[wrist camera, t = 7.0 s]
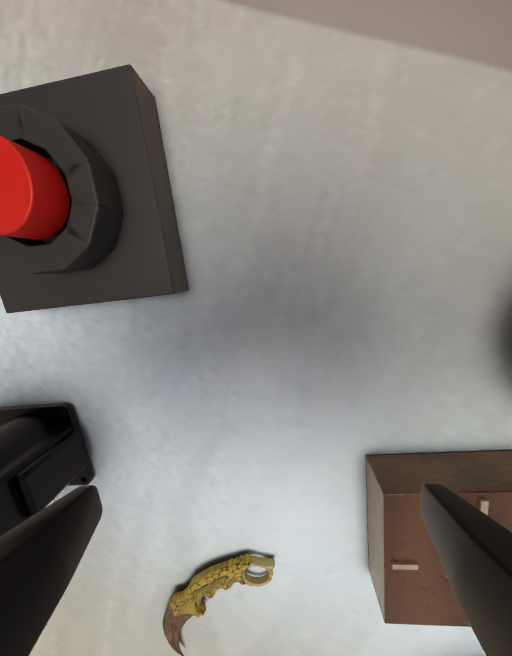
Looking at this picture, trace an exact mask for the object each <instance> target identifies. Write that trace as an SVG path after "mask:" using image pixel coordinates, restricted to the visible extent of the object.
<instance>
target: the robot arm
mask: <svg viewBox="0 0 512 656" xmlns="http://www.w3.org/2000/svg"><path fill="white" fill-rule="evenodd" d="M93 478H94V474H93V471H92V467H91V464H90V461H89V458H88V454H87V451H86V448H85V445H84V441H83V438H82V435H81V432H80V429H79V425H78V422H77V419H76V416H75V412H74V409H73V407H72V406H71V405H70V404H67V403H61V404H46V405H31V406H16V407H1V408H0V656H29V654H30V652H31V651H32V649H33V647H34V645H35V644H36V642H37V640H38V638H39V636H40V635H41V633H42V631H43V629H44V628H45V626H46V624H47V622H48V621H49V619H50V617H51V615H52V613H53V612H54V610H55V608H56V606H57V605H58V603H59V601H60V599H61V598H62V596H63V594H64V592H65V590H66V588H67V586H68V585H69V583H70V581H71V579H72V577H73V575H74V573H75V571H76V568H77V566H78V564H79V562H80V560H81V558H82V556H83V554H84V552H85V550H86V548H87V545H88V543H89V541H90V539H91V537H92V535H93V533H94V531H95V529H96V527H97V525H98V522H99V520H100V518H101V515H102V504H101V500H100V497H99V493H98V489H97V487H95V486H93V485H88V484H89V483H90V482H91V481H92V480H93ZM67 485H85V486H80V487H78V488H76V489H75V490H73V491H71V492H70V493H68V494H67V495H65V496H63V497H62V498H60V499H59V500H57V501H56V502H54V503H52V504H51V505H49V506H48V507H46V506H47V505H48V504H49V503H50V502H51V501H52V500H53V499H54V498H55V497H56V496H57V495H58V494H59V493H60V492H61V491H62V490H63V489H64V488H65V487H66V486H67ZM45 507H46V508H45ZM44 508H45V509H44ZM420 513H421V517H422V519H423V522H424V524H425V527H426V529H427V531H428V534H429V536H430V538H431V541H432V543H433V545H434V547H435V550H436V552H437V554H438V557H439V559H440V561H441V564H442V566H443V568H444V571H445V573H446V575H447V578H448V580H449V582H450V585H451V587H452V589H453V591H454V593H455V596H456V598H457V600H458V602H459V604H460V606H461V608H462V610H463V612H464V614H465V616H466V618H467V619H468V621H469V623H470V625H471V627H472V629H473V631H474V633H475V635H476V637H477V639H478V640H479V642H480V644H481V646H482V648H483V650H484V652H485V654H486V656H512V532H511V531H509V530H508V529H506V528H505V527H503V526H502V525H501V524H499V523H498V522H496V521H495V520H493V519H492V518H491V517H489V516H488V515H486V514H485V513H483V512H482V511H480V510H479V509H478V508H476V507H475V506H473V505H472V504H470V503H469V502H467V501H466V500H465V499H463V498H462V497H460V496H459V495H457V494H456V493H454V492H453V491H452V490H450V489H449V488H447V487H446V486H444V485H443V484H441V483H423V484H422V487H421V499H420Z"/></svg>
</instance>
